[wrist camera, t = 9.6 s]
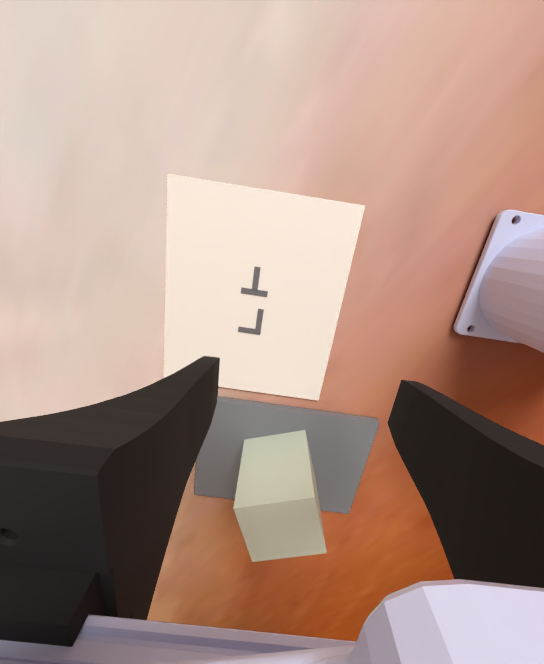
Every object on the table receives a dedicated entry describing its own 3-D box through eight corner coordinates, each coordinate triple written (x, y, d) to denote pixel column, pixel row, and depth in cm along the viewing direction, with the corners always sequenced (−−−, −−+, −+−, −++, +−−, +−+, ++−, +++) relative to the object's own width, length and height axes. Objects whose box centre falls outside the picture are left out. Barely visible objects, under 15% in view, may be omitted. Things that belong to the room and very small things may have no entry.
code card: (364, 205, 17) (365, 205, 17) (318, 399, 22) (318, 400, 22) (168, 174, 17) (167, 173, 17) (164, 377, 22) (163, 379, 21)
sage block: (305, 429, 22) (314, 497, 17) (315, 477, 24) (326, 553, 18) (244, 439, 23) (233, 508, 17) (258, 485, 24) (252, 562, 19)
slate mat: (376, 418, 23) (379, 423, 22) (347, 507, 26) (348, 513, 25) (202, 394, 22) (200, 398, 22) (195, 488, 26) (193, 494, 25)
